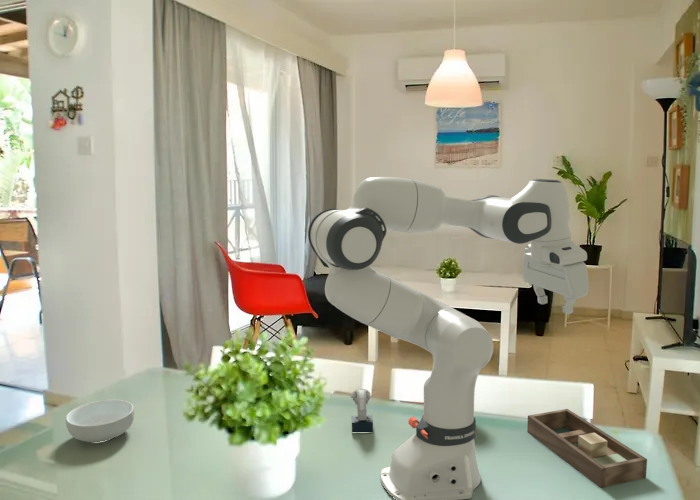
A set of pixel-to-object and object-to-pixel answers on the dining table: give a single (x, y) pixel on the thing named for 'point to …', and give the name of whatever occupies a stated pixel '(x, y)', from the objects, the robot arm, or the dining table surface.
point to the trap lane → (600, 470)
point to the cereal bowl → (100, 420)
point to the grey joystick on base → (361, 412)
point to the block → (592, 445)
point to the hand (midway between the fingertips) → (555, 308)
